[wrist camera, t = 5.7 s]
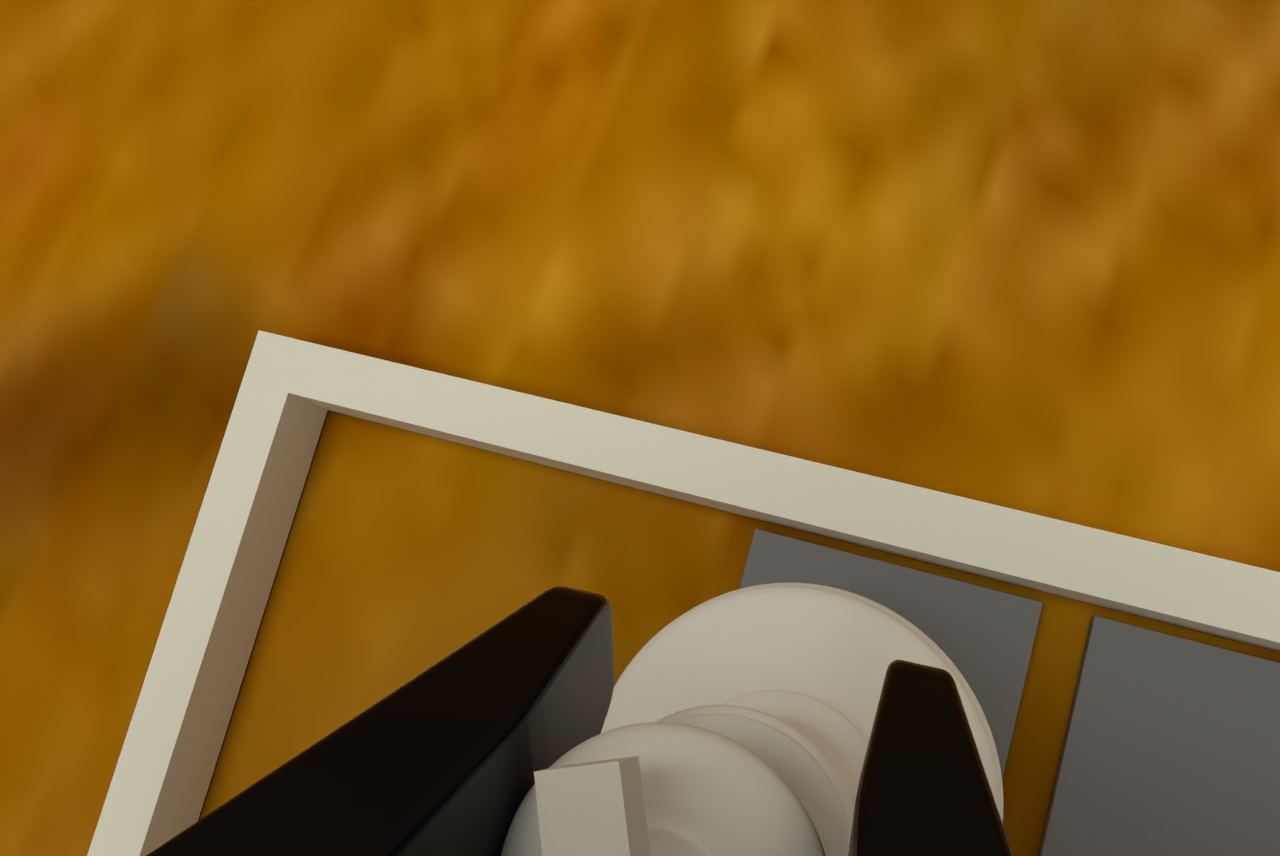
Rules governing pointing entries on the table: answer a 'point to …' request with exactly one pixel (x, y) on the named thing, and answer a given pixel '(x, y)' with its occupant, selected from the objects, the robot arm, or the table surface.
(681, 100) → the table surface
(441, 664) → the robot arm
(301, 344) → the trap box
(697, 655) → the chess piece
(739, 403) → the table surface
